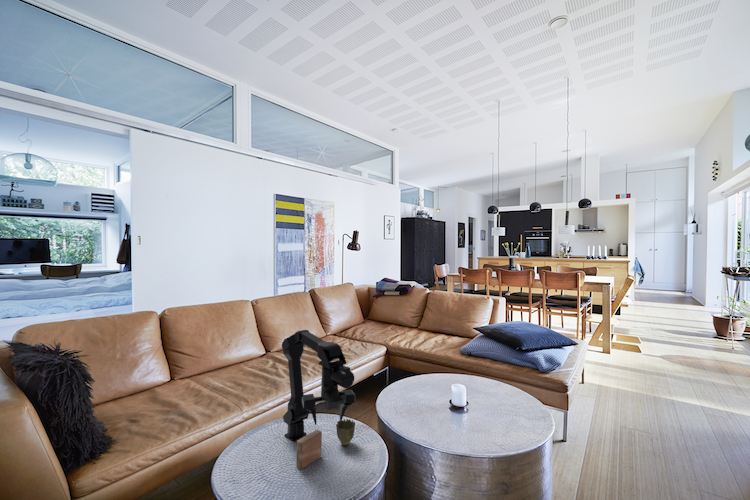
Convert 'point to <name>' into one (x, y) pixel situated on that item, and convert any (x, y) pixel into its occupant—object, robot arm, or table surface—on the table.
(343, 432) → the cup
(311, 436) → the wooden block
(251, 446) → the table surface
